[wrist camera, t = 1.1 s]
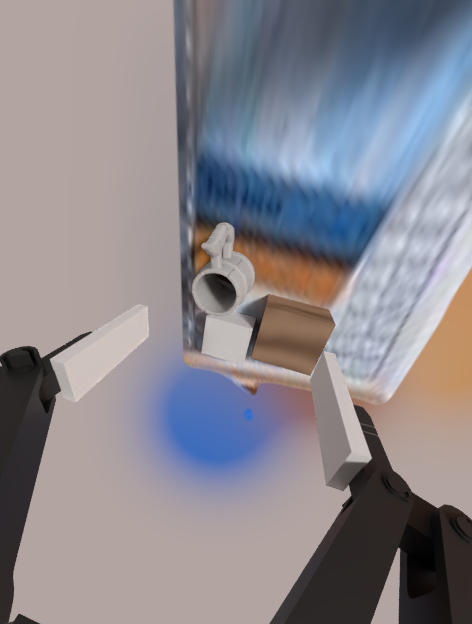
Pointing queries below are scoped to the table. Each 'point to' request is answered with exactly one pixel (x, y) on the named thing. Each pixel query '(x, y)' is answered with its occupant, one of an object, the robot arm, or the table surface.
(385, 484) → the robot arm
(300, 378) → the table surface
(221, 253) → the mug
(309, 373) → the walnut block
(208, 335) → the grey block
